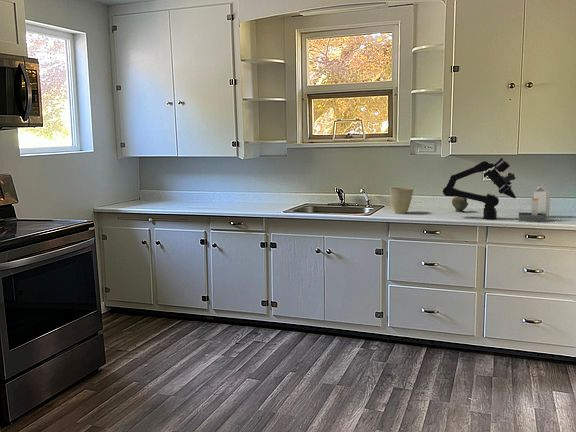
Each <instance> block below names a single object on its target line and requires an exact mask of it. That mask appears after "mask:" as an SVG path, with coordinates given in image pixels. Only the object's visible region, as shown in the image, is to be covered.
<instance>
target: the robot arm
mask: <svg viewBox="0 0 576 432" xmlns="http://www.w3.org/2000/svg"><path fill="white" fill-rule="evenodd" d="M510 167H511V165H510V164H509V163H508V161H506V160H505V159H504V158H503V157H501V158H500V159H499V160H498V161H497V162H495V163H490V162H489V161H487V160H482V161H481V162H479V163H478V164H475V166H473V167H469V168H468V169H465V170H463V171H460V172H457V173H455V174H452V175H450V178H449V179H448V182H447V184H446V186H445V187H444V188H443V189H442V193H443V195H444V196H445V197H454V196H458V197H463V198H466V199H467V200H472V201H476V202H481V203H483V204H484V206H483V207H484V208H483V216H482V217H481V219H482V220H497V219H498V218H497V217H498V216H497V215H498V214H497V208H496V206H498V204H499V201H500V199H499V197H498V196H497V195H496V194H491V193H487V194H485V195H483V194H478V193H474V192H471V191H470V192H469V191H465V190H461V189H458V188H456V187H455V185H456V182H457V181H458V180H460V179H463V178H465V177H468V176H471V175H473V174H476V173H482V172H483V178H486V177H487V178H488V179H489V180H491V181H492V183H493V184H494V185H495V186H496V187H498V193H499V194H500V195H501V194H503V195H506V196H508V197H510V198H512V199H516V198H517V196H516V195H515V193H514V191H513V188H512V186H513V185H512V181H514V180H516V175H515V173H512V172H509V173H507V175H505V176H503V175H501V174H500V173H504V172H505V171H506V170H508V168H510Z"/></svg>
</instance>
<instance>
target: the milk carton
mask: <svg viewBox="0 0 576 432" xmlns="http://www.w3.org/2000/svg"><path fill="white" fill-rule="evenodd" d="M533 198H538V213H541V212H542V211H545V212H546V218H549V217H550V205H551V203H550V202H551V191H550V190H549V189H548V188H547V186H545V184H540V186H538V187H536V190H535V191H533Z"/></svg>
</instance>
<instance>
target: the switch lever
mask: <svg viewBox="0 0 576 432" xmlns="http://www.w3.org/2000/svg"><path fill="white" fill-rule="evenodd" d="M530 213H531V215H538V198H534V197H531V212H530Z"/></svg>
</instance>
